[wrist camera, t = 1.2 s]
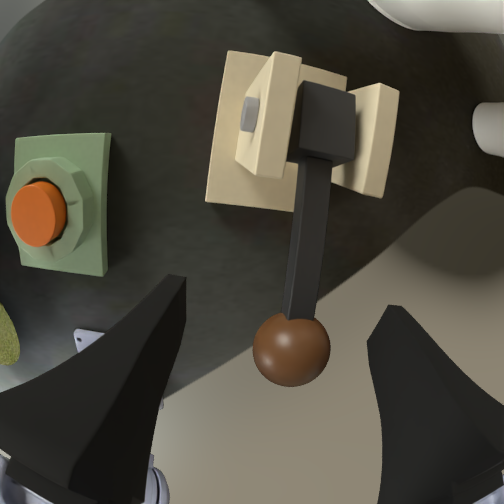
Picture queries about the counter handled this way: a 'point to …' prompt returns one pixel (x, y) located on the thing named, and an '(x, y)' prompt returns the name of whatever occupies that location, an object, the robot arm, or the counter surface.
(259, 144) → the bracket
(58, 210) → the button
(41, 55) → the counter surface
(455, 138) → the counter surface
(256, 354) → the lever
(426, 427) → the robot arm
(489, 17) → the spray can
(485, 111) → the drinking glass
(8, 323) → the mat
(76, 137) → the control block
